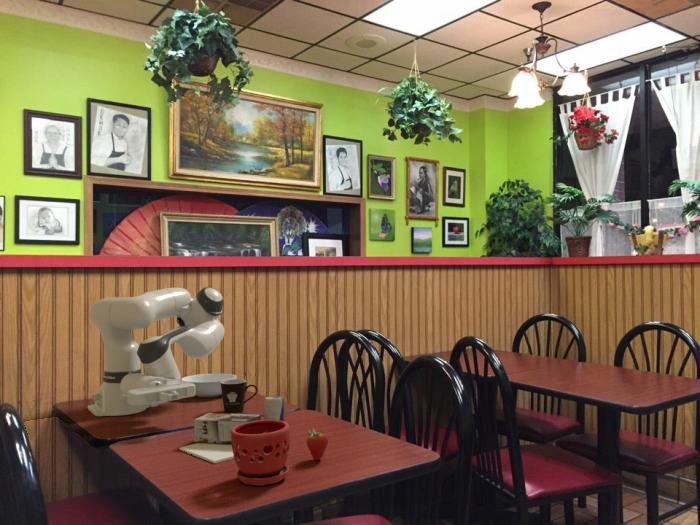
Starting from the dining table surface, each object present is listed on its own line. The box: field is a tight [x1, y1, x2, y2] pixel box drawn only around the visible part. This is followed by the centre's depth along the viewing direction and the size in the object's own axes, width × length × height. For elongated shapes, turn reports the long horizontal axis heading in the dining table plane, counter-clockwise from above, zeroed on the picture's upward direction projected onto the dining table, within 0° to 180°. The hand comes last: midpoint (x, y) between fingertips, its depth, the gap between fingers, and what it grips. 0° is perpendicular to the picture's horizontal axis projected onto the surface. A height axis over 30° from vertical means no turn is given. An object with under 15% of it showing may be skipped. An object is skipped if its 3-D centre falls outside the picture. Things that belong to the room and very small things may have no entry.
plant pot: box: [231, 419, 291, 487], centre depth 135 cm, size 13×13×12 cm
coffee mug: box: [221, 378, 258, 414], centre depth 202 cm, size 12×9×10 cm
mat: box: [178, 442, 239, 464], centre depth 158 cm, size 17×14×1 cm
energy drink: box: [263, 395, 285, 433], centre depth 166 cm, size 5×5×12 cm
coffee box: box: [193, 412, 262, 444], centre depth 165 cm, size 9×6×16 cm
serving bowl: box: [181, 373, 237, 398], centre depth 231 cm, size 21×21×7 cm
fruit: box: [305, 427, 329, 461], centre depth 149 cm, size 5×5×8 cm
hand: (174, 397), depth 174 cm, fingers closed
